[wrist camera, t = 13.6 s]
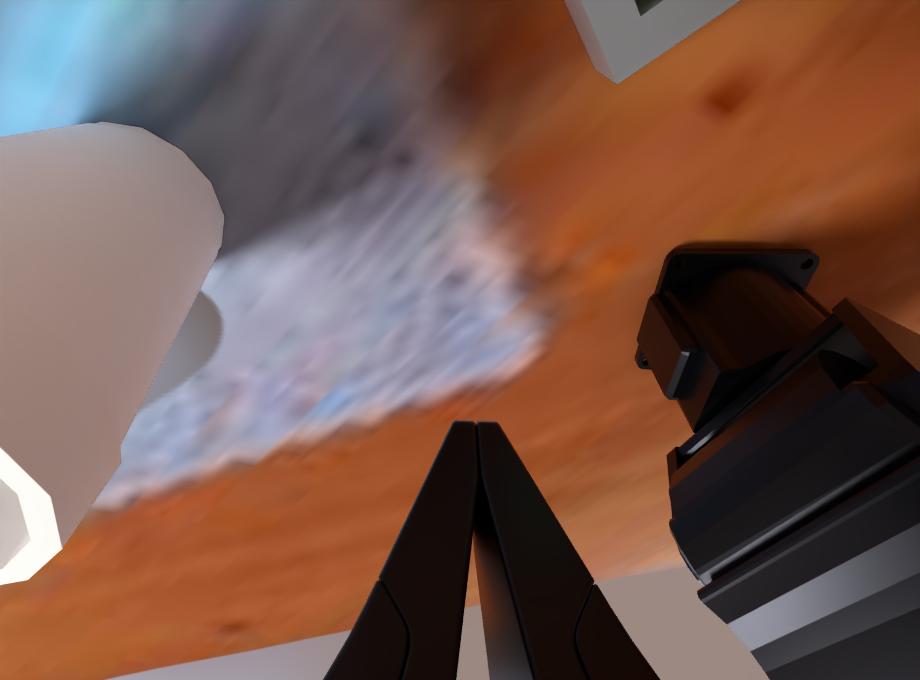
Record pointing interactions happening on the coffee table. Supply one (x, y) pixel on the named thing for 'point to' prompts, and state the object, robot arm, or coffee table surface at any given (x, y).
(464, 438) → the robot arm
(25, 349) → the foam cup
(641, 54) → the button housing
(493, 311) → the coffee table surface
